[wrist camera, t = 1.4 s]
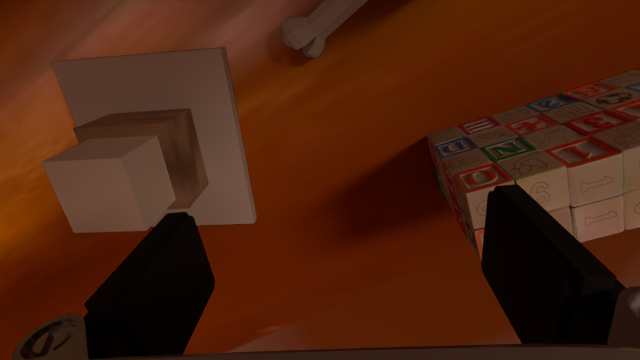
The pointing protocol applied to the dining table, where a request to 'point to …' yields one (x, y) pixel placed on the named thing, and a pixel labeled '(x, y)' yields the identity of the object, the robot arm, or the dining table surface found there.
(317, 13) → the chicken leg
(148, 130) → the base block
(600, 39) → the dining table surface
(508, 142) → the stack of blocks
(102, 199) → the middle block
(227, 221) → the grey board
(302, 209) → the dining table surface
